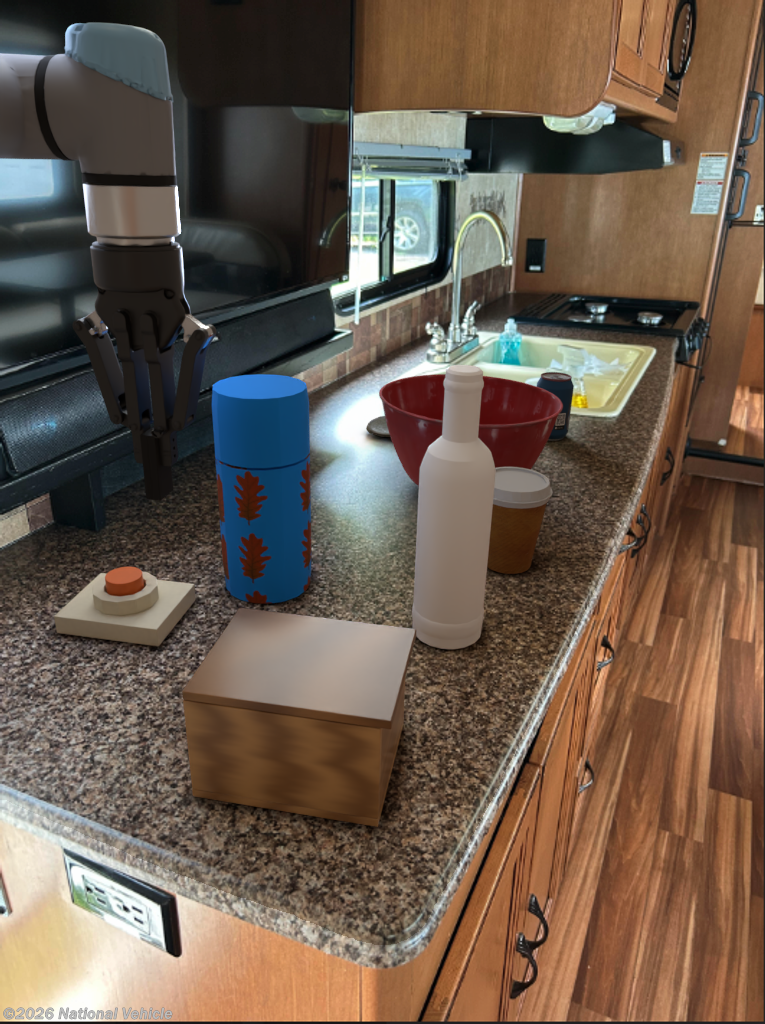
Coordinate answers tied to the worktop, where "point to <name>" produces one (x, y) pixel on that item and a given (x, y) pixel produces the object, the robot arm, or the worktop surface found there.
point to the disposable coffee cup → (516, 518)
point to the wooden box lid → (306, 667)
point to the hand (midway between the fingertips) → (160, 494)
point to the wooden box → (291, 761)
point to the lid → (378, 427)
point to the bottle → (454, 520)
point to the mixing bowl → (502, 425)
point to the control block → (127, 611)
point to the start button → (124, 581)
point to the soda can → (564, 391)
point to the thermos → (263, 485)
